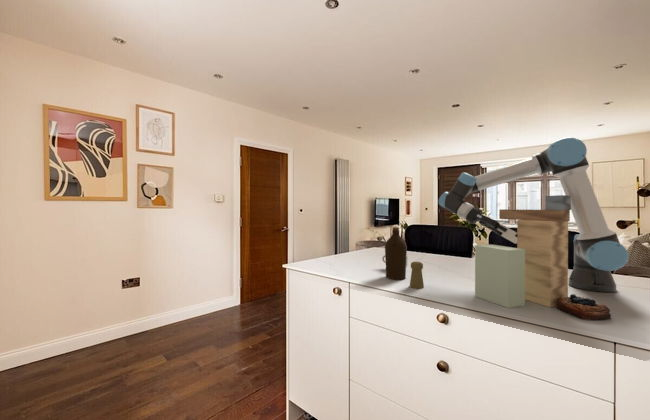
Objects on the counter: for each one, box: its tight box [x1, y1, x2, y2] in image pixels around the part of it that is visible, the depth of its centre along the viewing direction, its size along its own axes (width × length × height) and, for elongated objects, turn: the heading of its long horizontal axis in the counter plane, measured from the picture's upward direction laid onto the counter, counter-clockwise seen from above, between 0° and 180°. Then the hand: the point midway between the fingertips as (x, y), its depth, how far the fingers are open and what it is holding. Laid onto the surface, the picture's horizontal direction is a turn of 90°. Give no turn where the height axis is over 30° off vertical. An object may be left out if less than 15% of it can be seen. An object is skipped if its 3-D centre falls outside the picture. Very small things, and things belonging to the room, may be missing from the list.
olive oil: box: [384, 226, 408, 281], centre depth 140 cm, size 11×11×25 cm
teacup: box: [381, 254, 409, 268], centre depth 159 cm, size 14×11×8 cm
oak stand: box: [516, 220, 569, 308], centre depth 105 cm, size 9×12×30 cm
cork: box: [409, 260, 425, 290], centre depth 124 cm, size 6×6×11 cm
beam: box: [498, 194, 571, 222], centre depth 109 cm, size 5×24×9 cm, turn 18°
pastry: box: [555, 293, 612, 321], centre depth 92 cm, size 11×12×6 cm
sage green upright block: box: [474, 243, 526, 309], centre depth 105 cm, size 8×14×20 cm, turn 18°
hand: (516, 238), depth 119 cm, fingers open, 13 cm apart
